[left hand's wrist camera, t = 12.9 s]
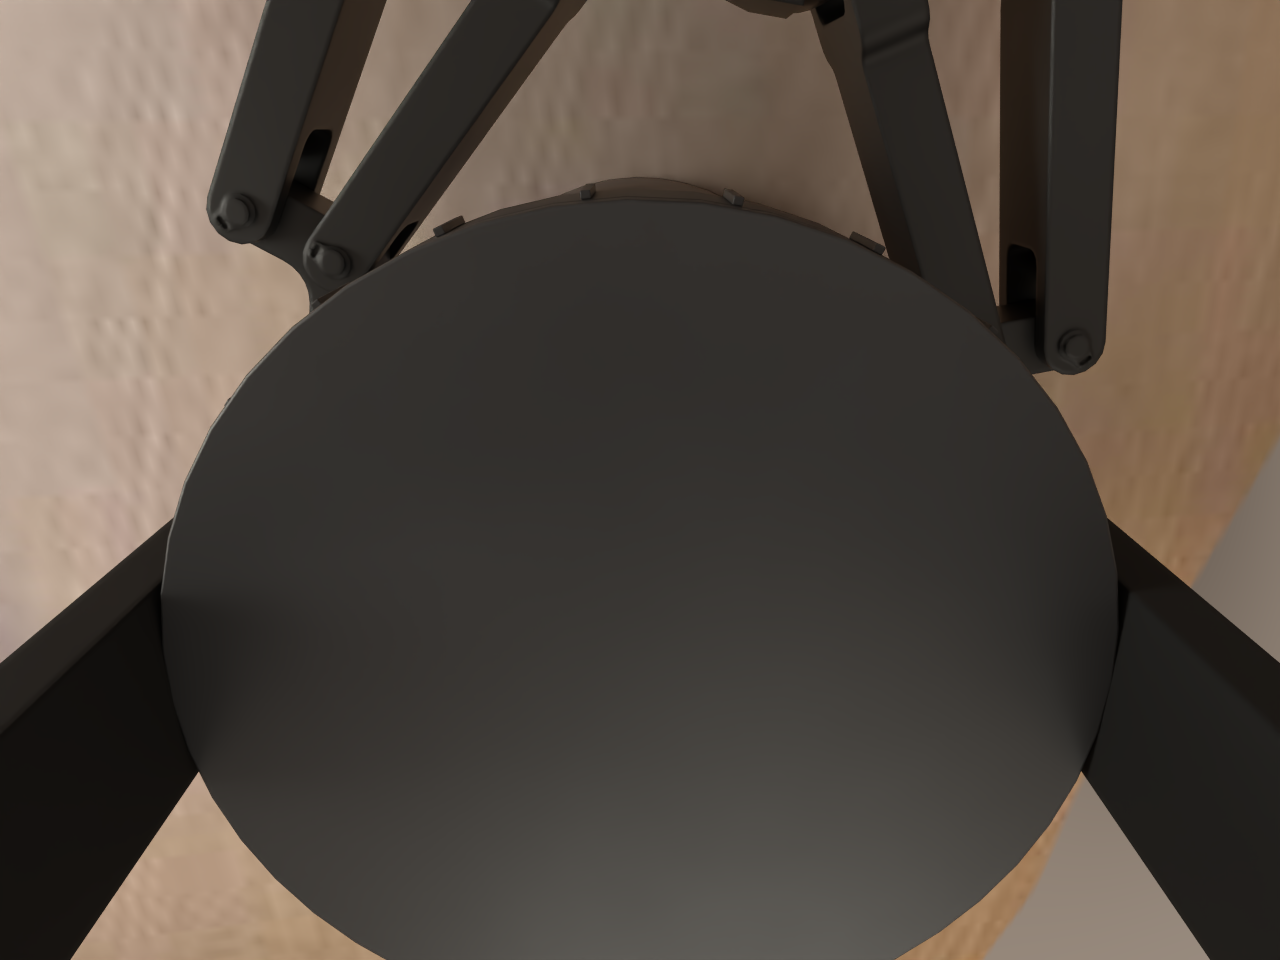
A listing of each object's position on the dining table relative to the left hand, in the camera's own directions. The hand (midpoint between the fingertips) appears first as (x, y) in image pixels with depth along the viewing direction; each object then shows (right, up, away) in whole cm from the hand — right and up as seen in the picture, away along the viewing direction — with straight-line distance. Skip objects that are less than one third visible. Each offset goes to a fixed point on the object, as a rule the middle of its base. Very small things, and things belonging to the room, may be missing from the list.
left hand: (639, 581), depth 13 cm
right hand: (-1, -1, +8) cm, 8 cm away
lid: (0, -1, -2) cm, 2 cm away
